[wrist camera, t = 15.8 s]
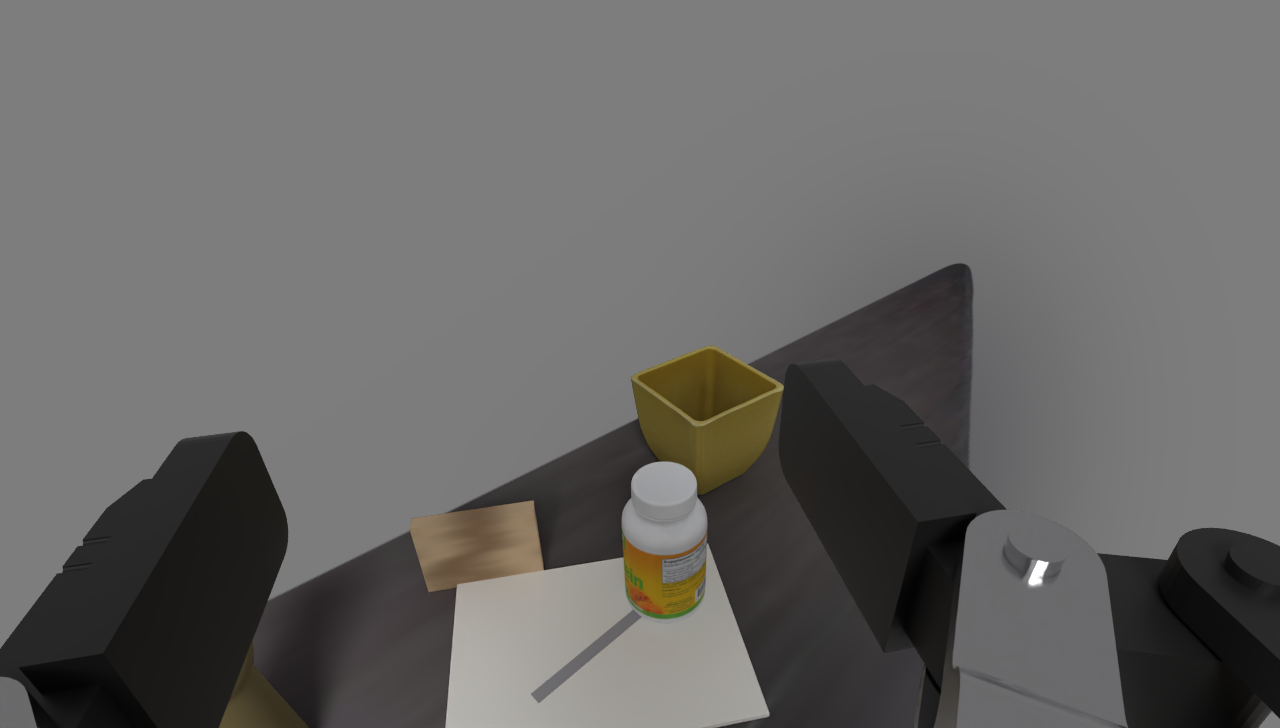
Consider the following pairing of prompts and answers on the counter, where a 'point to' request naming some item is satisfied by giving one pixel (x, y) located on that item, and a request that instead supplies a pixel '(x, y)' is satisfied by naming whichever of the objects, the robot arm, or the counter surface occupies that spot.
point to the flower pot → (707, 413)
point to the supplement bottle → (664, 543)
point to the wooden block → (477, 544)
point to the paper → (594, 656)
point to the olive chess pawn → (257, 702)
